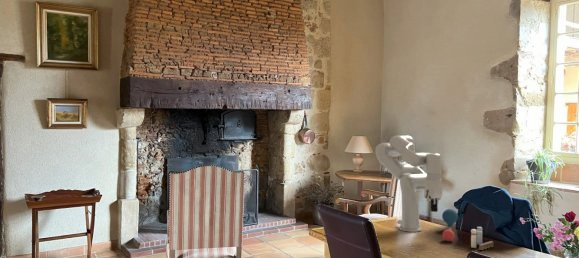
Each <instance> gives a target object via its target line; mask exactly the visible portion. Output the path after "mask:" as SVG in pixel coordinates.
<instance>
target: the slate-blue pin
mask: <svg viewBox="0 0 579 258" xmlns="http://www.w3.org/2000/svg"><path fill="white" fill-rule="evenodd" d="M481 244H483V227H482V226H476V245H478V246H479V245H481Z"/></svg>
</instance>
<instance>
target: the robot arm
mask: <svg viewBox="0 0 579 258" xmlns="http://www.w3.org/2000/svg"><path fill="white" fill-rule="evenodd" d="M415 150H416V147H415V141H414V138H413V137H412V136H410V135H407V134H406V135H403V134H402V135H394V136H391V137H390V138H389V142H383V143H379V144H377V145H376V147H375V150H374V151H375V157H376V159H377V161H378V162H379V163H380V165H382V166H383V167H384V168H385V169H387V171H388V172H389V173H390V174H391V176H393V177H394V178H395V179H397V180H398V181H399V185H400V186H399V188H400V192H401V219H398V220H397V221H396V223H397V224H399V227H398V228H399V230H400V231H403V232H408V233H409V232H410V233H418V232H421V231H422V230H423V227H421V226H420V199H419V198H420V197H419V195H418V193H417V191H423V192H424V196H423V197H424V198H425V199H426V201H427V202H429V204H430V212H434V213H437V212H438V209H439V208H438V206H439V205H438V204H439V201H440V200H441V199H442V197H443V183H442V157H441V156H442V155H441V154H440V153H432V152H415ZM399 156H401V157H402V159H403V161H404V162H405V163H402V162H400V161H399V160H398V159H397V158H396V157H399ZM420 167H425V171H424V170H423V169H422V168H420Z"/></svg>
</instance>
